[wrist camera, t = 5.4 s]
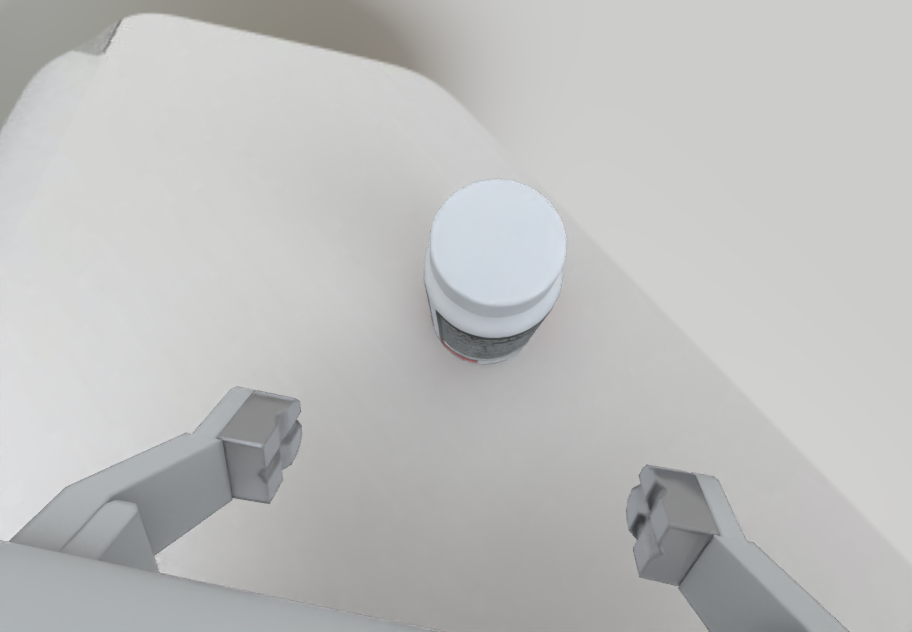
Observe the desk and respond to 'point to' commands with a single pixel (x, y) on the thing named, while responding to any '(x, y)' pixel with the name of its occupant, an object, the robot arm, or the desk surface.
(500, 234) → the pill bottle
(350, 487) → the desk surface
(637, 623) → the desk surface
